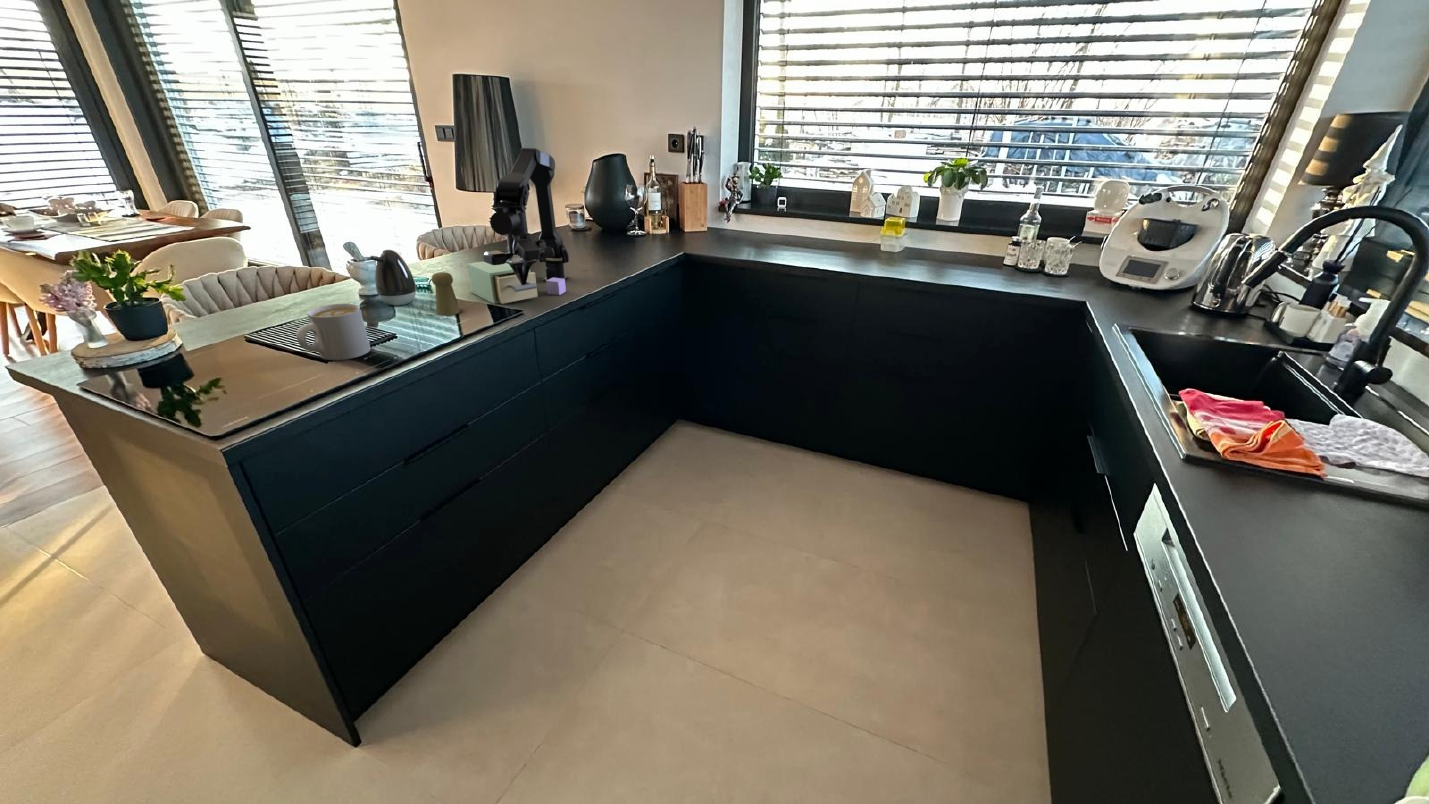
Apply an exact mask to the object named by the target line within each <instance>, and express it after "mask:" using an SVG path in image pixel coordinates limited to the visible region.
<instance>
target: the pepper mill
mask: <svg viewBox="0 0 1429 804" xmlns="http://www.w3.org/2000/svg"><path fill="white" fill-rule="evenodd" d="M431 282H432V284H433V285H434V289H435V306H436V307H435V309H436V310H435V311H436V314H437V315H439V316H454V315H457V314H459V313H461V309H460V306H459V303H458V300H457V297H456V294H455V291H454V287H453V285H452V284H453V282H454V279H453V276H452V274H451V273H450V272H446V271H440V272H435V273H433V274H432V275H431Z"/></svg>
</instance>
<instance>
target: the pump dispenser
mask: <svg viewBox="0 0 1429 804" xmlns="http://www.w3.org/2000/svg"><path fill="white" fill-rule="evenodd" d="M369 258H370V259H369V260H372V261H375V262H376V263H375V270H374V283H375V284H374V285H375V286H374V287H375V291H376V294H377V295H378V296H379V297H380V300H382V301H383V302H384V303H385V304H387V305H390V306H404V305H407V304H410V303H412V302H413V301H414V299H415V297H416V293H417V290H418V289H417V284H416V280H415V279H414V276H413V273H412V271H411V270H410V268H409V266H408V263H406V261H405V260H404V259H403V257H402V256H401V255H400V254H399V253H398V252H397V251H395V250H393V249H385V250H382V251H381V252H380V253H379V254H378V256H376V255H370V256H369Z"/></svg>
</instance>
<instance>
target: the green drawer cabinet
mask: <svg viewBox="0 0 1429 804" xmlns="http://www.w3.org/2000/svg"><path fill="white" fill-rule="evenodd" d="M467 269H468V273H469V280H470V287H471V292H472V294H474V295H476V296H478V297H480V298H482V299H484V300H485V301H488V302H489V303H492V304H494V305H497V304H501V303H500V300H499V299H497V298H496V294H495V288H494V281H493V276H494V275H500V274H506V273H512V272H514V271H513V269H512V268H511V267H510V265H509V264H507V263H505V264H501V265H491V264H488V263H486V262H484V260H483V261H475V262H470V263H467ZM529 273H531V269H530V270H529Z"/></svg>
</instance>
